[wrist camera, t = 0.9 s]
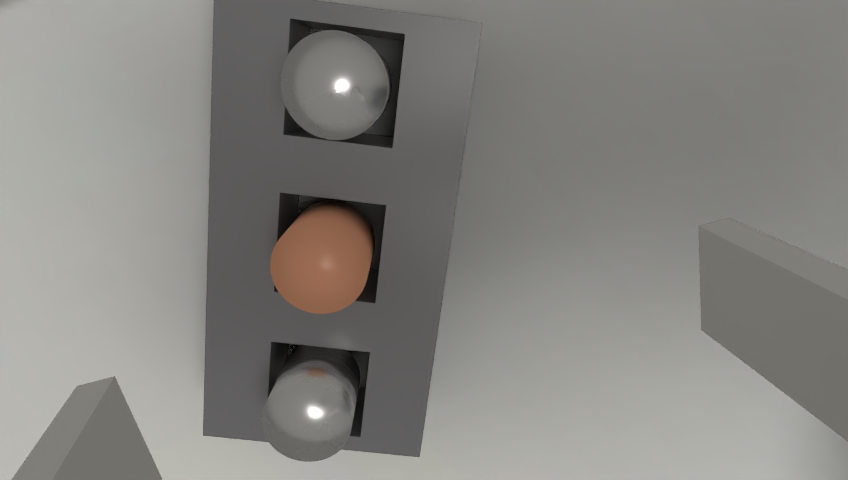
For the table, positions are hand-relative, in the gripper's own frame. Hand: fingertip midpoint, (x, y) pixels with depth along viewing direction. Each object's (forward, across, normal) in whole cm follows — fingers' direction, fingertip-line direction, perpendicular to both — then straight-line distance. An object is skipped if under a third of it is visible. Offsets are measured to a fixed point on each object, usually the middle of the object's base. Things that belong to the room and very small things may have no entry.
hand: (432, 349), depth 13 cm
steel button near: (+18, 0, -4) cm, 19 cm away
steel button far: (+17, +5, +11) cm, 21 cm away
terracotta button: (+18, +3, +3) cm, 18 cm away
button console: (+21, +2, +3) cm, 22 cm away
